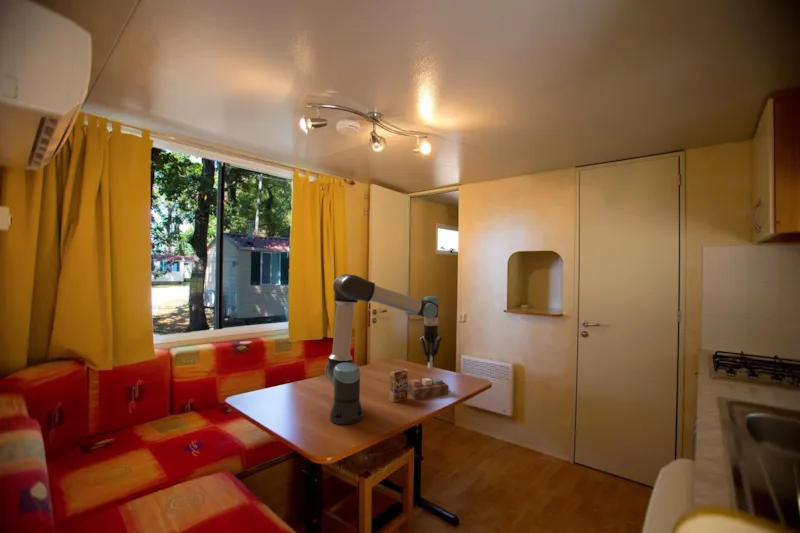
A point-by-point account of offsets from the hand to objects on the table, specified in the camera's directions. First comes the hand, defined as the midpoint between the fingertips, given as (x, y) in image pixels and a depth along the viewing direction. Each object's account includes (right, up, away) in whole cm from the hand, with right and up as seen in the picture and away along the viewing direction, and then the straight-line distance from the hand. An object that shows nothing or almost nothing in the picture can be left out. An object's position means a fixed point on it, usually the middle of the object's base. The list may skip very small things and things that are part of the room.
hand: (430, 367), depth 193 cm
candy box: (-17, -14, -11) cm, 24 cm away
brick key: (-8, -10, -3) cm, 13 cm away
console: (-2, -14, -1) cm, 14 cm away
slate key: (+4, -11, +2) cm, 12 cm away
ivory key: (-2, -10, -1) cm, 10 cm away
